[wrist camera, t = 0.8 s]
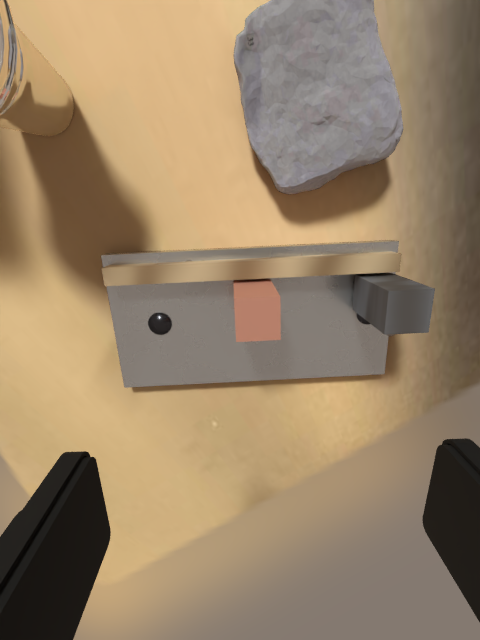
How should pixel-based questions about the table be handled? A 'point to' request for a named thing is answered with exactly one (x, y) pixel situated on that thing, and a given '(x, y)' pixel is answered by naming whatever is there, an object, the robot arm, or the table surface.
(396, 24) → the table surface
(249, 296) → the block
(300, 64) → the stone block
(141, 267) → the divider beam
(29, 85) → the domed lid cup
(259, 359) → the bolt plate
